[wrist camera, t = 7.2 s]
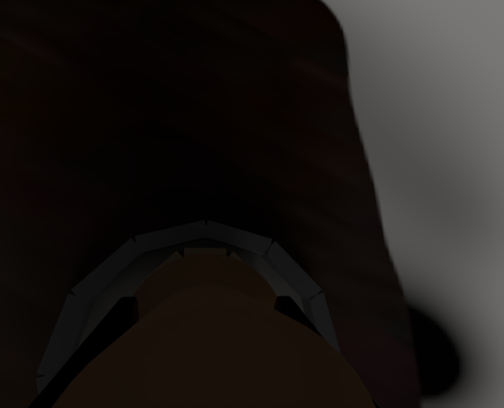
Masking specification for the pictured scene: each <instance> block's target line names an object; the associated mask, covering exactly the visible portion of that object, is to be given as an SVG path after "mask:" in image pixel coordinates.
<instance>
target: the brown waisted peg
mask: <svg viewBox="0 0 504 408" xmlns="http://www.w3.org/2000/svg"><path fill="white" fill-rule="evenodd" d="M132 297H136V298H137V302H138V311H139V321H138V322H137V323H136V324H135V325H133V326H132V327H131V328H130V329H129V330H128V331H126V332H125V333H124V334H123V335H122V336H120V337H119V338H118V339H117V340H116V341H114V342H113V343H112V344H111V345H110V346H108V347H107V348H106V349H105V350H104V351H102V352H101V353H100V354H99V355H98V356H97V357H95V358H94V359H93V360H92V361H91V362H89V364H88V365H87V366H86V367H85V368H84V369H83V370H82V371H81V372H80V373H79V374H78V375H77V376H76V377H75V378H74V379H73V381H72V382H71V383H70V384H69V385H68V386H67V388H66V389H65V390H64V392H63V393H62V394H61V396H60V397H59V398H58V400H57V401H56V402H55V404H54V405H53V406H52V408H376V407H375V405H374V403H373V401H372V399H371V397H370V395H369V393H368V391H367V389H366V388H365V386H364V384H363V383H362V381H361V380H360V378H359V377H358V375H357V374H356V372H355V371H354V369H353V368H352V367H351V366H350V365H349V363H348V362H347V361H346V360H345V359H344V357H343V356H342V355H341V354H340V353H339V352H338V351H337V350H336V349H335V348H334V347H333V346H331V345H330V344H329V343H328V342H327V341H326V340H325V339H324V338H322V337H321V336H319V335H318V334H317V333H315V332H314V331H312V330H311V329H310V328H308V327H307V326H305V325H303V324H301V323H299V322H297V321H295V320H293V319H292V318H290V317H288V316H286V315H284V314H282V313H280V312H278V311H276V310H275V309H274V305H275V301H276V298H277V295H276V293H275V292H274V290H273V289H272V287H271V286H270V284H269V283H268V282H267V281H266V280H265V278H264V277H263V276H262V275H260V274H259V273H258V272H257V271H256V270H255V269H253V268H252V267H250V266H249V265H247V264H246V263H244V262H242V261H240V260H238V259H235V258H232V257H229V256H225V255H220V254H210V253H206V254H194V255H189V256H185V257H182V258H179V259H176V260H174V261H172V262H169V263H167V264H166V265H164V266H162V267H161V268H159V269H158V270H156V271H155V272H154V273H153V274H151V275H150V276H149V277H148V278H147V279H146V280H145V281H144V282H143V283H142V284H141V285H140V286H139V287H138V289H137V290H136V291H135V293H134V294H133V296H132Z"/></svg>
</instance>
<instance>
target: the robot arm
mask: <svg viewBox="0 0 504 408" xmlns="http://www.w3.org/2000/svg"><path fill="white" fill-rule="evenodd" d="M274 309H275V310H276V311H278V312H280V313H282V314H284V315H286V316H288V317H290V318H292V319H293V320H295V321H297V322H299V323H301V324H303V325H305V326H307V327H308V328H310V329H311V330H312V331H314V332H315V333H317V334H318V335H319V336H321V337H322V338H323V336H322V335H321V334H320V333H319V331H318V330H317V329H316V328H315V326H314V325H313V324H312V323H311V321H310V320H309V319H308V318H307V316H306V315H305V314H304V313H303V311H302V310H301V309H300V308H299V306H298V305H297V304H296V302H295V301H294V300H293V299H292V298H291V297H290V296H278V297H277V298H276V301H275V305H274ZM138 321H139V311H138V302H137V298H136V297H122V298H120V299H119V300H118V301H117V303H116V304H115V305H114V306H113V307H112V308H111V310H110V311H109V312H108V313H107V314H106V316H105V317H104V318H103V319H102V320H101V322H100V323H99V324H98V325H97V326H96V327H95V329H94V330H93V331H92V332H91V333H90V335H89V336H88V337H87V338H86V339H85V341H84V342H83V343H82V344H81V345H80V346H79V348H78V349H77V350H76V351H75V352H74V354H73V355H72V356H71V357H70V358H69V360H68V361H67V362H66V363H65V364H64V365H63V367H62V368H61V369H60V370H59V371H58V373H57V374H56V375H55V376H54V377H53V379H52V380H51V381H50V382H49V383H48V384H47V386H46V387H45V388H44V389H43V390H42V392H41V393H40V394H39V395H38V396H37V398H36V399H35V400H34V401H33V402H32V403H31V405H30V406H29V407H28V408H52V406H53V405H54V404H55V402H56V401H57V400H58V398H59V397H60V396H61V394H62V393H63V392H64V390H65V389H66V388H67V386H68V385H69V384H70V383H71V382H72V381H73V379H74V378H75V377H76V376H77V375H78V374H79V373H80V372H81V371H82V370H83V369H84V368H85V367H86V366H87V365H88V364H89V362H91V361H92V360H93V359H94V358H95V357H97V356H98V355H99V354H100V353H101V352H102V351H104V350H105V349H106V348H107V347H108V346H110V345H111V344H112V343H113V342H114V341H116V340H117V339H118V338H119V337H120V336H122V335H123V334H124V333H125V332H126V331H128V330H129V329H130V328H131V327H132V326H133V325H135V324H136V323H137V322H138ZM371 399H372V398H371ZM372 401H373V403H374V405H375V407H376V408H379V406H378V405H377V404H376V403H375V401H374V400H373V399H372Z"/></svg>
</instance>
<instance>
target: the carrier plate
mask: <svg viewBox="0 0 504 408" xmlns="http://www.w3.org/2000/svg"><path fill="white" fill-rule="evenodd" d="M135 239H136V240H135ZM135 239H133V238H130V239H129V240H128V241H127V242H126V243H125V244H123V245H122V246H121V247H120V248H119V249H118V250H116V251H115V252H114V253H113V254H112V255H111V256H110V257H108V258H107V259H106V260H105V261H104V262H103V263H101V264H100V265H99V266H98V267H97V268H96V269H94V270H93V271H92V272H91V273H90V274H89V275H88V276H86V277H85V278H84V279H83V280H82V281H81V282H79V283H78V284H77V285H76V286H75V287H74V288H73V289H71V290H72V292H73V293H69V294H68V295H67V298H66V301H65V303H64V306H63V308H62V311H61V313H60V316H59V318H58V321H57V323H56V326H55V328H54V331H53V333H52V336H51V338H50V341H49V343H48V346H47V348H46V351H45V354H44V356H43V359H42V361H41V364H40V366H39V369H38V371H37V374H40V376H39V377H37V378H36V383H37V390H38V395H39V394H40V393H41V392H42V390H43V389H44V388H45V387H46V386H47V384H48V383H49V382H50V381H51V380H52V379H53V377H54V376H55V375H56V374H57V373H58V371H59V370H60V369H61V368H62V367H63V365H64V364H65V363H66V362H67V361H68V360H69V358H70V357H71V356H72V355H73V354H74V352H75V351H76V350H77V349H78V348H79V346H80V345H81V344H82V343H83V342H84V341H85V339H86V338H87V337H88V336H89V335H90V333H91V332H92V331H93V330H94V329H95V327H96V326H97V325H98V324H99V323H100V322H101V320H102V319H103V318H104V317H105V316H106V314H107V313H108V312H109V311H110V310H111V308H112V307H113V306H114V305H115V304H116V303H117V301H118V300H119V299H120V298H122V297H132V296H133V294H134V293H135V291H136V290H137V289H138V287H139V286H140V285H141V284H142V283H143V282H144V281H145V280H146V279H147V278H148V277H149V276H150V275H151V274H153V273H154V272H155V271H156V270H158V269H159V268H161V267H162V266H164V265H166V264H167V263H169V262H172V261H174V260H176V259H179V258H182V257H185V256H189V255H194V254H206V253H210V254H220V255H225V256H229V257H232V258H235V259H238V260H240V261H242V262H244V263H246V264H247V265H249V266H250V267H252V268H253V269H255V270H256V271H257V272H258V273H259V274H260V275H262V276H263V277H264V278H265V280H266V281H267V282H268V283H269V284H270V286H271V287H272V289H273V290H274V292H275V293H276V295H277V297H278V296H290V297H291V298H292V299H293V300H294V301H295V302H296V304H297V305H298V306H299V308H300V309H301V310H302V311H303V313H304V314H305V315H306V316H307V318H308V319H309V320H310V321H311V323H312V324H313V325H314V326H315V328H316V329H317V330H318V331H319V333H320V334H321V335H322V336H323V338H324V339H325V340H326V341H327V342H328V343H329V344H330V345H331V346H333V347H334V348H335V349H336V350H337V351H338V352H339V353H340V349H339V346H338V342H337V339H336V335H335V332H334V328H333V325H332V321H331V317H330V314H329V310H328V307H327V303H326V300H325V296H324V293H323V292H320V290H321V288H320V287H319V286H318V285H317V284H316V283H315V282H314V281H313V280H312V279H311V278H310V277H309V276H308V274H307V273H306V272H305V271H304V270H303V269H302V268H301V267H300V266H299V265H298V264H297V263H296V262H295V261H294V260H293V259H292V258H291V257H290V256H289V255H288V254H287V253H286V252H285V250H284V249H283V248H282V247H281V246H280V245H279V244H278V243H277V242H276V241H274V242H272V239H270V238H267V237H264V236H260V235H257V234H254V233H250V232H247V231H244V230H240V229H237V228H233V227H230V226H227V225H223V224H220V223H217V222H213V221H210V220H208V223H207V226H206V224H205V220H202V221H198V222H193V223H189V224H185V225H180V226H176V227H172V228H167V229H163V230H158V231H154V232H150V233H145V234H141V235H137V236H135ZM340 354H341V353H340Z"/></svg>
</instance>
